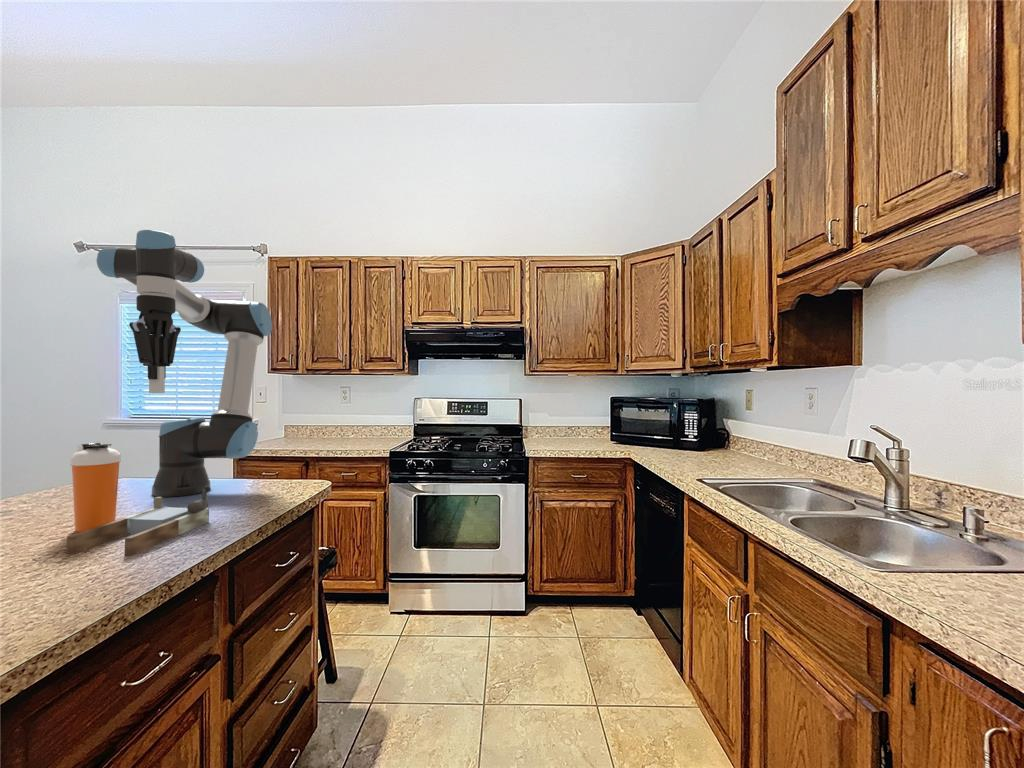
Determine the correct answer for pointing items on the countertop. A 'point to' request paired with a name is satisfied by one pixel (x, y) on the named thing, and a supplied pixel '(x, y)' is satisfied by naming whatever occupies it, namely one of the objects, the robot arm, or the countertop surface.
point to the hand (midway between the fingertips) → (156, 392)
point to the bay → (147, 537)
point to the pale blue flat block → (155, 518)
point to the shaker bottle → (94, 485)
